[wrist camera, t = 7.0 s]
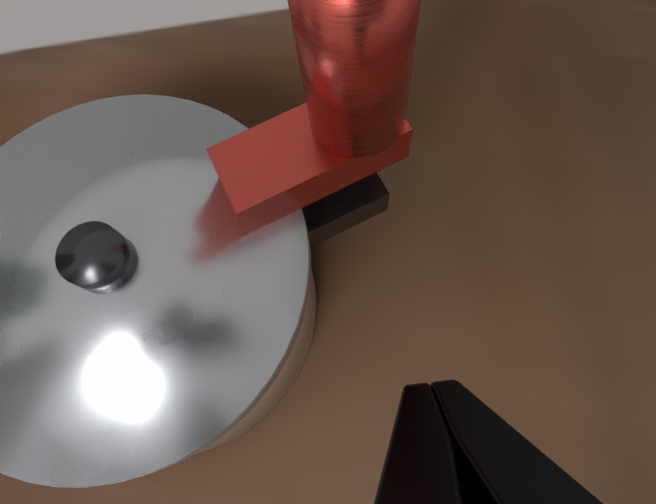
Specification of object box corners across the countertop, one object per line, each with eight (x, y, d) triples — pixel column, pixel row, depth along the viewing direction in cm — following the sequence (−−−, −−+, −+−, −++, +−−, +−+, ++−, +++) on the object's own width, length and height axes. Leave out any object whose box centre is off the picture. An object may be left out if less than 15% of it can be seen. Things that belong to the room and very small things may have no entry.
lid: (-24, 569, 12) (-716, 835, 4) (-96, 201, 16) (-533, -6, 8) (496, 297, 13) (674, 129, 6) (314, 17, 17) (274, -311, 9)
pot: (37, 540, 17) (-76, 581, 12) (-26, 270, 20) (-129, 230, 16) (437, 334, 18) (460, 307, 14) (311, 115, 22) (298, 41, 17)
